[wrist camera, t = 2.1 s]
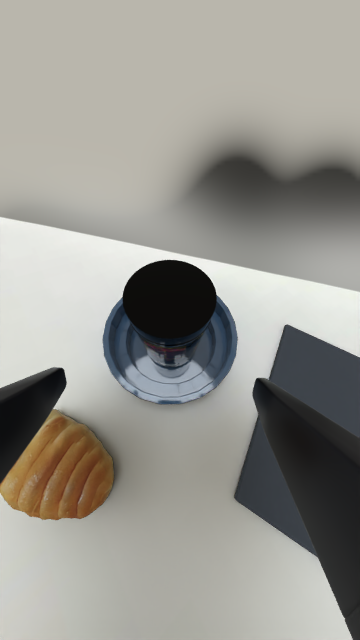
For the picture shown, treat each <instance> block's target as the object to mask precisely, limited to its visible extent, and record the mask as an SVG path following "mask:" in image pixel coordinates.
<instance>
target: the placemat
mask: <svg viewBox="0 0 360 640" xmlns="http://www.w3.org/2000/svg"><path fill="white" fill-rule="evenodd" d="M269 381H271V382H273V383H274V384H276V385H277V386H279V387H280V388H282V389H284V390H285V391H287V392H288V393H290V394H291V395H293V396H295V397H296V398H298V399H299V400H301V401H302V402H304V403H306V404H307V405H309V406H310V407H312V408H313V409H315V410H317V411H318V412H320V413H321V414H323V415H325V416H326V417H328V418H329V419H331V420H332V421H334V422H336V423H337V424H339V425H340V426H342V427H343V428H345V429H347V430H348V431H350V432H351V433H353V434H354V435H356V436H358V437H359V438H360V358H359V357H357V356H355V355H353V354H351V353H348V352H346V351H344V350H342V349H340V348H338V347H335V346H333V345H331V344H329V343H327V342H324V341H322V340H320V339H318V338H316V337H314V336H311V335H309V334H307V333H305V332H303V331H301V330H298V329H296V328H294V327H292V326H290V325H285V327H284V331H283V334H282V338H281V341H280V344H279V348H278V351H277V355H276V358H275V361H274V365H273V368H272V371H271V375H270V378H269ZM234 498H235V499H236V501H238V502H239V503H241V504H242V505H244V506H245V507H246V508H248V509H249V510H251V511H252V512H254V513H255V514H256V515H258V516H259V517H261V518H262V519H264V520H265V521H266V522H268V523H269V524H271V525H272V526H274V527H275V528H277V529H278V530H279V531H281V532H282V533H284V534H285V535H287V536H288V537H289V538H291V539H292V540H294V541H295V542H297V543H298V544H299V545H301V546H302V547H304V548H305V549H307V550H308V551H309V552H311V553H312V554H314V555H315V556H317V554H316V552H315V549H314V547H313V545H312V542H311V540H310V538H309V535H308V533H307V531H306V528H305V526H304V524H303V521H302V519H301V517H300V514H299V512H298V510H297V507H296V505H295V503H294V500H293V498H292V496H291V493H290V491H289V489H288V486H287V484H286V482H285V479H284V477H283V475H282V472H281V470H280V468H279V465H278V463H277V461H276V458H275V456H274V454H273V451H272V449H271V447H270V444H269V442H268V440H267V437H266V435H265V432H264V430H263V427H262V424H261V421H260V417H259V415H258V419H257V422H256V426H255V429H254V432H253V436H252V439H251V443H250V446H249V449H248V453H247V456H246V460H245V463H244V466H243V470H242V473H241V476H240V480H239V483H238V487H237V490H236V493H235V497H234ZM317 557H318V556H317Z"/></svg>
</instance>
